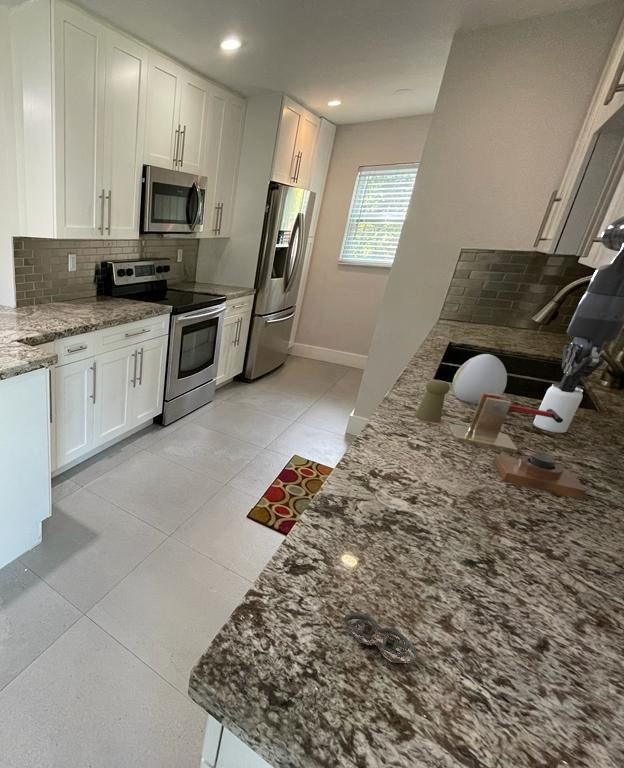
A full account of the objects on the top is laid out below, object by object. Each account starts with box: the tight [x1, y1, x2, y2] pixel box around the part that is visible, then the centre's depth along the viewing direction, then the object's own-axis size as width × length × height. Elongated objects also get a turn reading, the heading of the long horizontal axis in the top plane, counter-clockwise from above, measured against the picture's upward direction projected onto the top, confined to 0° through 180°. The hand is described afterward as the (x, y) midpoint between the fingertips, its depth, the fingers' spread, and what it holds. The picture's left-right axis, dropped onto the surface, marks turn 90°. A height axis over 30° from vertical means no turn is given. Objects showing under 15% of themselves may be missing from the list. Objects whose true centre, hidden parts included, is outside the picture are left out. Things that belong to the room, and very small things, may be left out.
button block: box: [492, 453, 587, 501], centre depth 87 cm, size 12×9×4 cm
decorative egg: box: [452, 353, 508, 406], centre depth 126 cm, size 12×12×15 cm
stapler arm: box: [487, 397, 563, 423], centre depth 98 cm, size 13×6×2 cm, turn 60°
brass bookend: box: [447, 392, 519, 454], centre depth 102 cm, size 12×9×12 cm
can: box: [533, 383, 584, 434], centre depth 109 cm, size 6×6×12 cm
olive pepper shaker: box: [414, 379, 451, 423], centre depth 114 cm, size 6×6×11 cm
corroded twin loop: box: [344, 612, 419, 664], centre depth 52 cm, size 5×8×1 cm, turn 48°
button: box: [529, 453, 557, 469], centre depth 86 cm, size 4×4×2 cm
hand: (565, 390), depth 93 cm, fingers closed
